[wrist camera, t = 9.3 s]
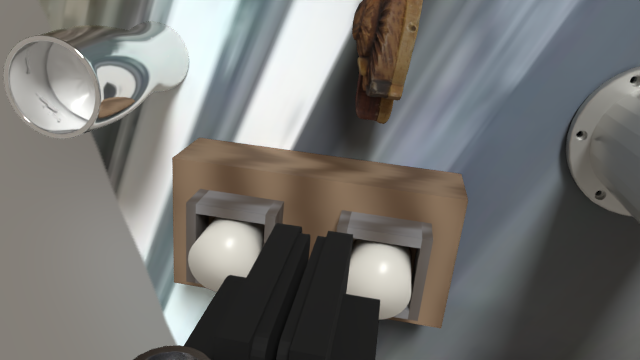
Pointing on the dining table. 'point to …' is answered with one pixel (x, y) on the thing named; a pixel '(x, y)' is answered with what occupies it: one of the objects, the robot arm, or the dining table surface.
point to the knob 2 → (381, 275)
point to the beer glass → (91, 75)
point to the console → (325, 208)
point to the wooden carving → (383, 53)
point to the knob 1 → (225, 251)
